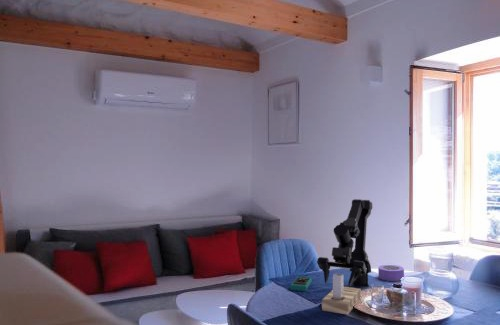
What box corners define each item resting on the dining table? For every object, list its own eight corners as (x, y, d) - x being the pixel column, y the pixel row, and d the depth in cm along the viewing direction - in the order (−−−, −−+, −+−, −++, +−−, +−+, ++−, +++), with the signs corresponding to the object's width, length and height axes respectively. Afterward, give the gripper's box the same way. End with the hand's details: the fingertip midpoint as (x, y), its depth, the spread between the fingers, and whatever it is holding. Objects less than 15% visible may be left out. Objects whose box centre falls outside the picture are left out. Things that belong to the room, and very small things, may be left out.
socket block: (337, 295, 179) (337, 285, 179) (361, 298, 175) (360, 288, 174) (321, 310, 162) (321, 299, 162) (347, 314, 157) (347, 303, 157)
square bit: (335, 306, 166) (335, 273, 166) (343, 307, 164) (343, 274, 165) (332, 308, 163) (332, 274, 163) (340, 310, 161) (340, 275, 162)
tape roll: (377, 280, 201) (377, 269, 201) (379, 273, 212) (379, 263, 212) (403, 282, 196) (403, 271, 196) (404, 275, 207) (404, 265, 207)
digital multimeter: (312, 282, 199) (312, 276, 199) (306, 292, 185) (306, 285, 185) (296, 281, 202) (296, 275, 202) (289, 291, 188) (289, 284, 188)
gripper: (317, 237, 172) (308, 270, 162) (364, 240, 163) (357, 276, 153) (324, 252, 179) (316, 285, 169) (369, 256, 170) (362, 291, 160)
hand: (337, 284), depth 163 cm, fingers open, 9 cm apart
